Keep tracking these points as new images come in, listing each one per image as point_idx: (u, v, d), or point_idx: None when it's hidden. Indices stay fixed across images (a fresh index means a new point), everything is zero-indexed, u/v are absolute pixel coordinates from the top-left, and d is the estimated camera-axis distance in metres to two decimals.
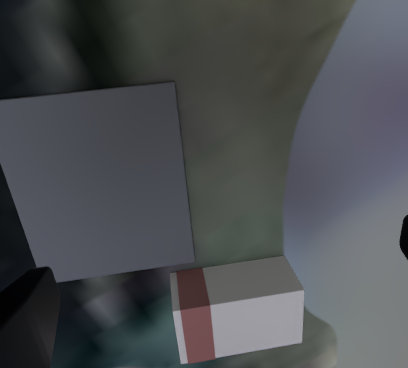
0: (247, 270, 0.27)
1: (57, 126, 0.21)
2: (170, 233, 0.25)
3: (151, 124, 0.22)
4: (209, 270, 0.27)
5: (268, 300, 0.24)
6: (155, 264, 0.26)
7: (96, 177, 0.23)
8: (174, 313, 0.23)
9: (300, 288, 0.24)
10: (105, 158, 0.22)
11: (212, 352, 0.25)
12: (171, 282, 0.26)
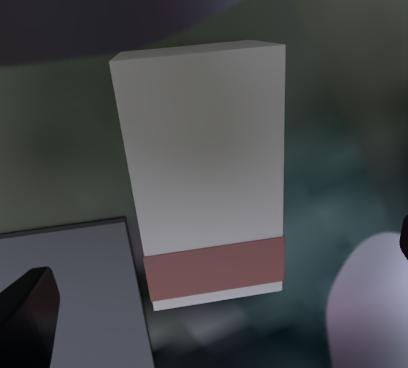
0: None
1: None
2: (69, 258, 0.16)
3: None
4: None
5: (139, 146, 0.11)
6: (129, 275, 0.17)
7: None
8: (158, 308, 0.13)
9: None
10: None
11: (265, 243, 0.13)
12: None
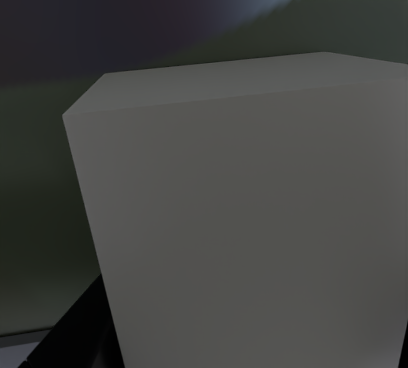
0: None
1: None
2: None
3: None
4: None
5: (135, 279, 0.05)
6: None
7: None
8: None
9: None
10: None
11: None
12: None
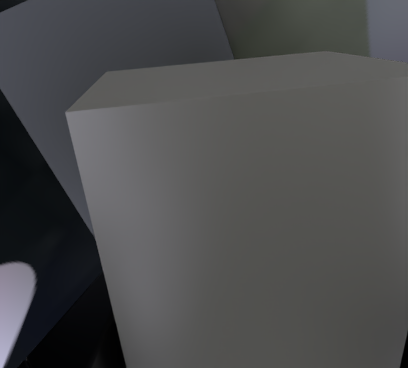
0: None
1: (61, 36, 0.16)
2: None
3: (175, 0, 0.16)
4: None
5: (136, 279, 0.05)
6: None
7: None
8: None
9: None
10: (131, 65, 0.17)
11: None
12: None
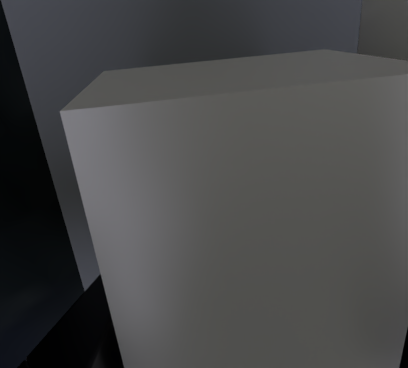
0: None
1: (142, 46, 0.11)
2: None
3: (309, 47, 0.12)
4: None
5: (133, 278, 0.05)
6: None
7: None
8: None
9: (66, 124, 0.04)
10: None
11: None
12: None
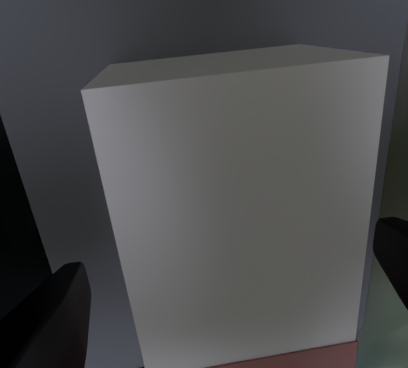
0: None
1: (141, 54, 0.09)
2: None
3: None
4: None
5: (137, 226, 0.07)
6: None
7: None
8: None
9: None
10: None
11: (329, 351, 0.09)
12: None
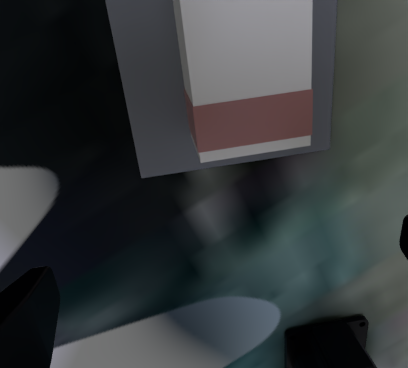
0: (176, 18, 0.16)
1: None
2: None
3: None
4: (184, 81, 0.18)
5: None
6: (281, 152, 0.20)
7: None
8: (204, 160, 0.16)
9: None
10: None
11: (296, 95, 0.15)
12: (193, 141, 0.18)
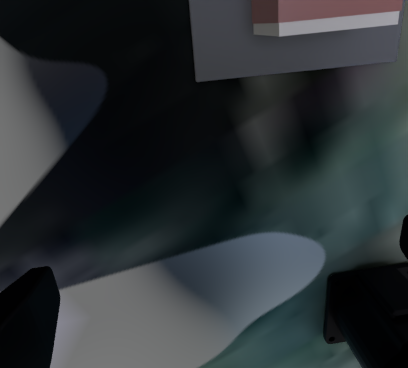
0: None
1: None
2: None
3: None
4: None
5: None
6: (346, 60, 0.19)
7: None
8: (283, 33, 0.14)
9: None
10: None
11: None
12: (259, 33, 0.17)
